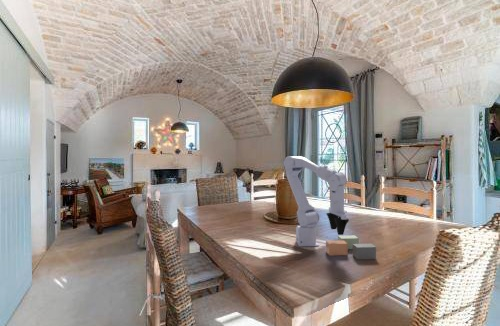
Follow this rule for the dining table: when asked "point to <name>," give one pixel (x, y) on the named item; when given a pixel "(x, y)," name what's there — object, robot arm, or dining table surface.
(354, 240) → the sage block
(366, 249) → the charcoal block
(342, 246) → the terracotta block
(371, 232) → the dining table surface
